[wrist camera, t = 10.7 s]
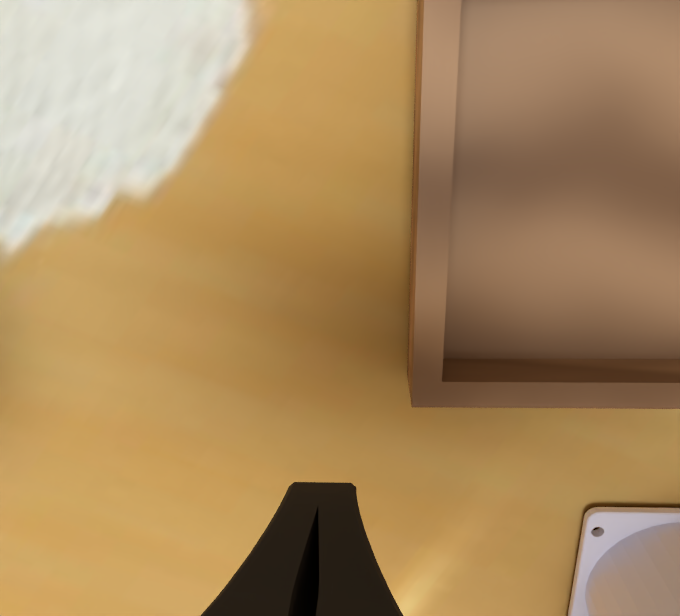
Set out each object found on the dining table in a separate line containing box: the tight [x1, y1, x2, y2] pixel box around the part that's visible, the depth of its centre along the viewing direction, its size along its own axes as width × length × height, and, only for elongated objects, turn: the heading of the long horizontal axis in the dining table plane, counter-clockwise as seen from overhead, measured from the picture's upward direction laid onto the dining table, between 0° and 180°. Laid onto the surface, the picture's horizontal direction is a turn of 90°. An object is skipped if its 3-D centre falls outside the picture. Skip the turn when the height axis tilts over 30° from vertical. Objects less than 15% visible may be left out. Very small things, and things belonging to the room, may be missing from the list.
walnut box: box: [407, 0, 680, 409], centre depth 19 cm, size 14×15×2 cm
